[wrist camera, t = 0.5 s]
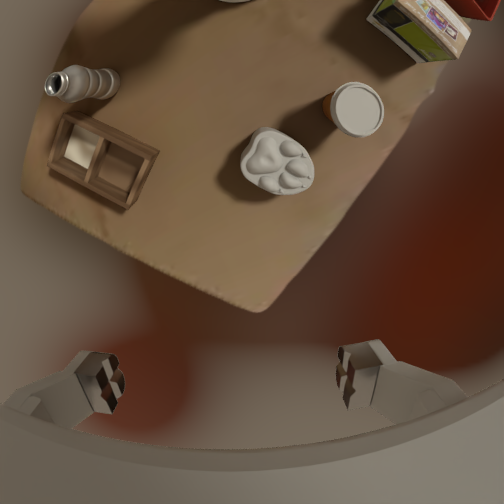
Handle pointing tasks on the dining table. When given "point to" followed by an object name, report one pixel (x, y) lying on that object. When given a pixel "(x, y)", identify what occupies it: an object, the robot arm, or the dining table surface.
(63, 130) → the bottle carrier
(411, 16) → the tea box
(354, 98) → the disposable coffee cup
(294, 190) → the lumpy-topped squat cylinder
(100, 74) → the metal bottle
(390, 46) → the dining table surface
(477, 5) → the plant pot
